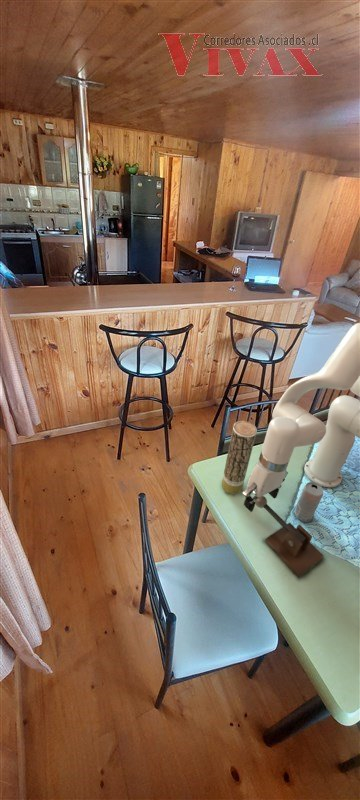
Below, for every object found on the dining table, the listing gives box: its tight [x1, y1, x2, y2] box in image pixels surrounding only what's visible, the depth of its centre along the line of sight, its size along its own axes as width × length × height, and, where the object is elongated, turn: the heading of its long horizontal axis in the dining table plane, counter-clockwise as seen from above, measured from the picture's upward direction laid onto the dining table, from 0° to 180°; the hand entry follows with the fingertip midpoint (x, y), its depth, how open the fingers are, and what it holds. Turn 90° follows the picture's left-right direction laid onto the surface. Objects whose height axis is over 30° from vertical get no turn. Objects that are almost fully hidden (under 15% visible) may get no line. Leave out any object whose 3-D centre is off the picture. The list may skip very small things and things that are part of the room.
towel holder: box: [264, 522, 325, 579], centre depth 89 cm, size 12×10×7 cm
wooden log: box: [221, 420, 258, 495], centre depth 102 cm, size 7×7×25 cm
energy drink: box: [294, 481, 324, 523], centre depth 98 cm, size 5×5×12 cm
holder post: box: [255, 495, 306, 544], centre depth 93 cm, size 17×4×4 cm, turn 33°
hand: (260, 501), depth 97 cm, fingers open, 9 cm apart
